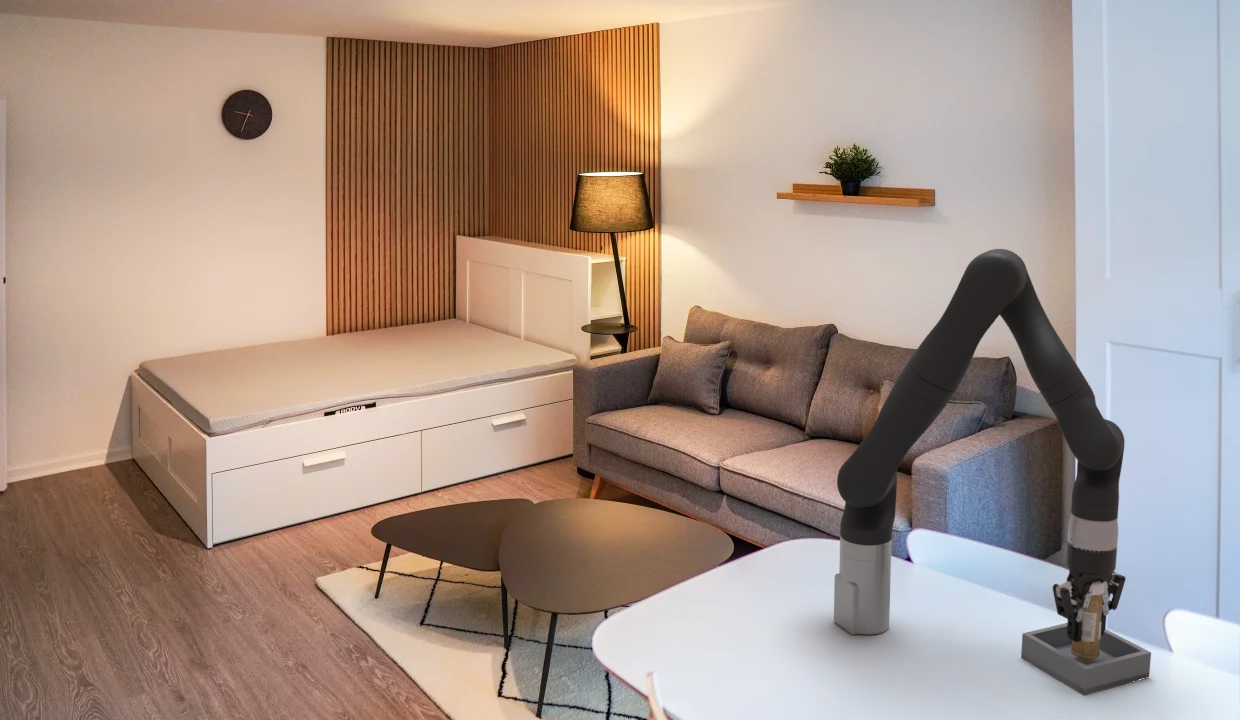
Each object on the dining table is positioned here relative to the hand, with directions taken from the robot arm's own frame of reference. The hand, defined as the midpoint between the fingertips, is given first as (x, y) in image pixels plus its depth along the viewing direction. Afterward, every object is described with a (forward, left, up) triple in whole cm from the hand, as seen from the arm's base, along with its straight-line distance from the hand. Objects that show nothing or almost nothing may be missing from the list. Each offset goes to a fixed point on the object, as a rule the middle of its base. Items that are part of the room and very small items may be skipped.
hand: (1085, 636), depth 177 cm
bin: (0, 0, -6) cm, 6 cm away
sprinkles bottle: (0, 0, -3) cm, 3 cm away
